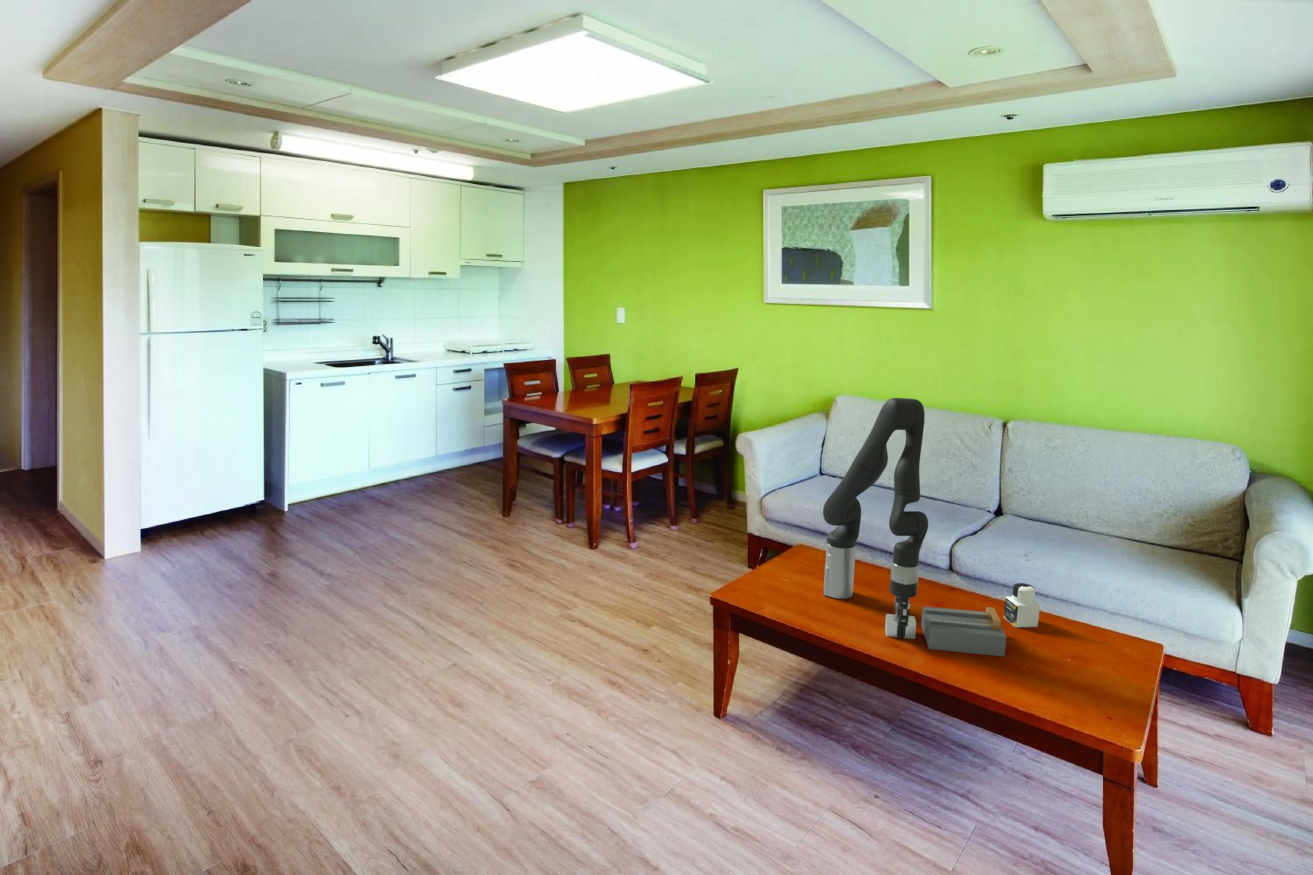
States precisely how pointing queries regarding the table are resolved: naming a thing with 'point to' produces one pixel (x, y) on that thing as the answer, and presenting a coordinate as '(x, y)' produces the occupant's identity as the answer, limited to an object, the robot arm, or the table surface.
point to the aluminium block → (892, 626)
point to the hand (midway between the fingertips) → (899, 632)
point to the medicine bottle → (1022, 606)
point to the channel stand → (964, 631)
